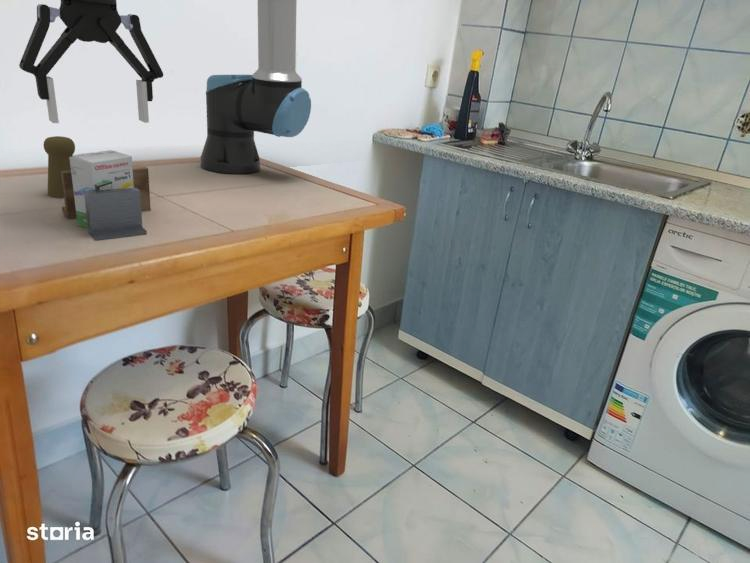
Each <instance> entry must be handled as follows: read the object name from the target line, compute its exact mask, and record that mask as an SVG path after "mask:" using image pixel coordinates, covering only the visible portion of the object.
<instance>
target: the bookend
mask: <svg viewBox="0 0 750 563" xmlns="http://www.w3.org/2000/svg"><path fill="white" fill-rule="evenodd" d="M84 197H85V206H86V216H87V225H88V228H87V232H88V234H89V235H90V236H91V238H92V239H93V240H94V241H101V240H102V241H103V240H109V239H110V240H111V239H119V238H128V237H136V236H143V235H147V233H148V231H147V230H146V229H145V228H144V227H143V216H142V211H141V198H140V190H138V189H137V188H123V189H109V190H94V191H84Z"/></svg>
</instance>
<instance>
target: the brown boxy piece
mask: <svg viewBox="0 0 750 563" xmlns="http://www.w3.org/2000/svg"><path fill="white" fill-rule="evenodd" d="M132 169H133V183H134V188H137V189H138V190H140V198H141V212H148V211H149V212H150V211H151V210H152V209H151V192H150V177H149V168H147V167H146V166H139V167H132ZM61 176H62V185H63V193H64V198H63V200H64V206H61V212H62V213H64V215H65V216H66V218H68V219H77V216H76V208H75V199H74V191H73V183H72V174H71V170H69V171H61Z"/></svg>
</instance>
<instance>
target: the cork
mask: <svg viewBox="0 0 750 563" xmlns="http://www.w3.org/2000/svg"><path fill="white" fill-rule="evenodd" d="M75 144H76V143H75V142H74V141H73V139H71V138H70V137H66V136H58V135H57V136H56V135H55V136H50V137H46V138H45V139H44V141H43V149H44V151H45V153H46V154H47V155H48V156H47V157H48V158H47V159H48V160H47V196H48V197H51V198H56V199H57V198H58V199H64V193H63V185H62V176H61V171H69V170H71V167H70V158H69V157H72V155H75V151H76V145H75Z"/></svg>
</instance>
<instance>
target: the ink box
mask: <svg viewBox="0 0 750 563" xmlns="http://www.w3.org/2000/svg"><path fill="white" fill-rule="evenodd" d="M69 158H70V167H71V174H72V183H73V191H74V199H75V208H76V216H77V218H76V224H77V226H80V227H84V228H87V229H88V225H87V216H86V206H85V197H84V191H94V190H109V189H123V188H134V183H133V169H132V168H133V158H132V156H131V155H129V154H125V153H122V152H119V151H116V150H103V151H101V150H100V151H96V152H94V151H93V152H88V153H79V154H73V155H72V157H69Z"/></svg>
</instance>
